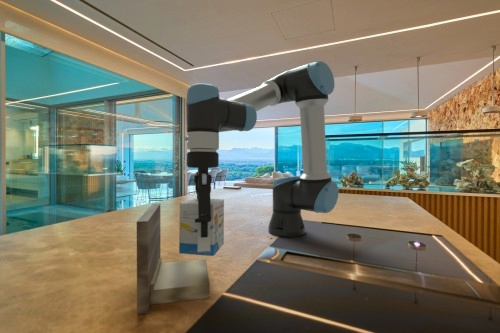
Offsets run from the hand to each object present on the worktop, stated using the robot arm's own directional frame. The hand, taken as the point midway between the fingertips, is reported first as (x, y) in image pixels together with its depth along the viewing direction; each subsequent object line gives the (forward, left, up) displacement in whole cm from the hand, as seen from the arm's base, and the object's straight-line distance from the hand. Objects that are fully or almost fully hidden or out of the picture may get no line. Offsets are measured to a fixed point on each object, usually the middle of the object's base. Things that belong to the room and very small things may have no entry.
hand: (202, 242), depth 61 cm
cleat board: (+6, 0, -10) cm, 12 cm away
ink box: (0, 0, -2) cm, 2 cm away
